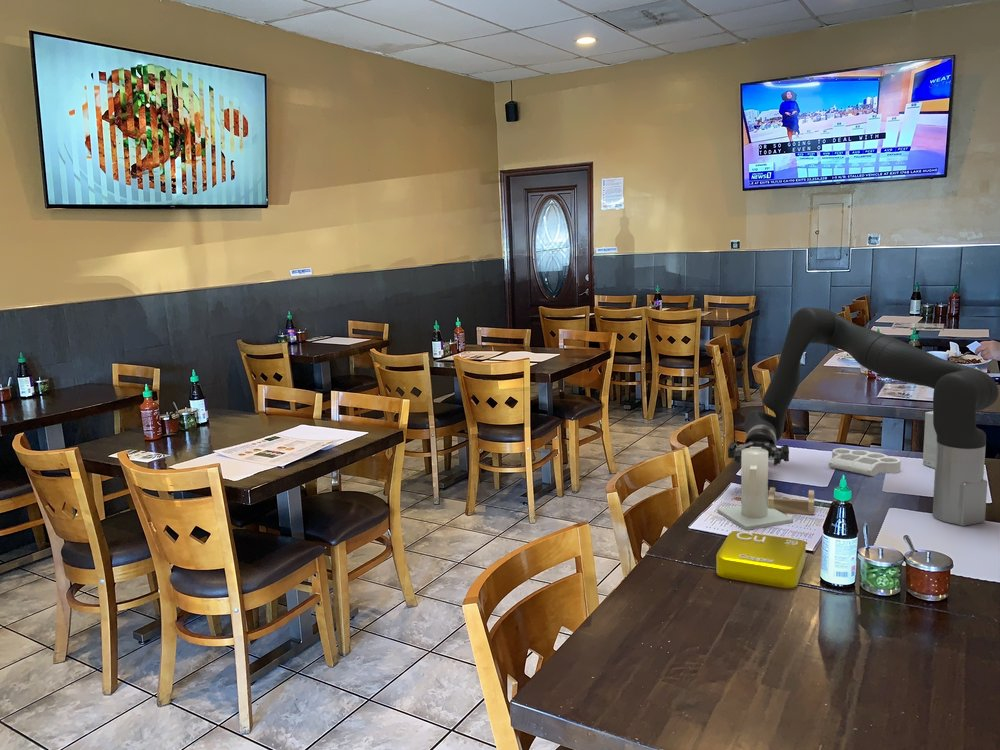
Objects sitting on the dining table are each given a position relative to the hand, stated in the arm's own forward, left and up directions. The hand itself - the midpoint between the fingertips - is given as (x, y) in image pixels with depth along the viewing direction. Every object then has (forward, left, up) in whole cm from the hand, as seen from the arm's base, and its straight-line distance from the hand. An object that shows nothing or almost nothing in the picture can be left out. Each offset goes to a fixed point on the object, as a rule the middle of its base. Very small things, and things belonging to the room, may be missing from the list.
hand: (756, 460), depth 180 cm
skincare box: (+6, -61, -11) cm, 62 cm away
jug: (-8, +6, -10) cm, 14 cm away
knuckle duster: (+14, -42, -12) cm, 45 cm away
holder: (-4, -7, -11) cm, 14 cm away
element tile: (-30, +19, -12) cm, 37 cm away
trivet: (-7, +5, -11) cm, 14 cm away
